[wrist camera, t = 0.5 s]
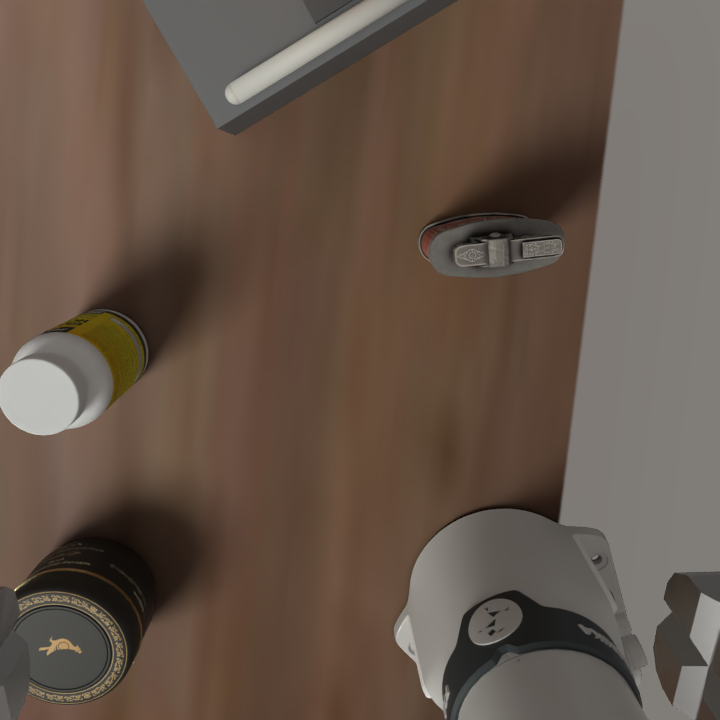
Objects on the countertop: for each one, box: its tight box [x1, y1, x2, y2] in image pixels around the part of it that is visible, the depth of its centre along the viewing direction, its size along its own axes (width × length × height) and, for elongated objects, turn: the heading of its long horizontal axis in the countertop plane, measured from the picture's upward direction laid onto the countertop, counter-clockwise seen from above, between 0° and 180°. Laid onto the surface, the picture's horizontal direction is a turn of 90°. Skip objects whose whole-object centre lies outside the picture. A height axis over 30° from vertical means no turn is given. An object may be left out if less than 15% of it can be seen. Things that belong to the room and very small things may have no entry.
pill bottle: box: [0, 309, 148, 435], centre depth 43 cm, size 6×6×11 cm
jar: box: [12, 538, 155, 705], centre depth 50 cm, size 10×10×8 cm
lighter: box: [418, 212, 565, 278], centre depth 41 cm, size 8×3×10 cm, turn 96°
